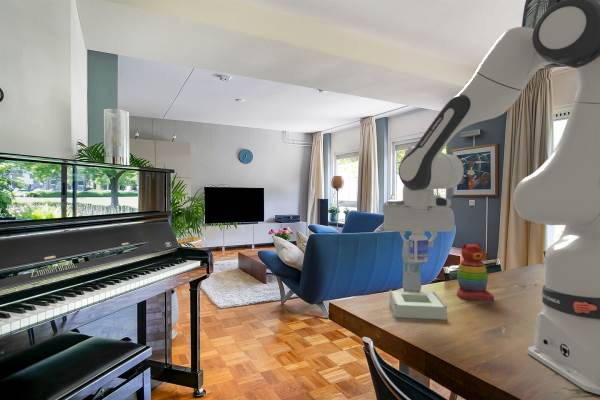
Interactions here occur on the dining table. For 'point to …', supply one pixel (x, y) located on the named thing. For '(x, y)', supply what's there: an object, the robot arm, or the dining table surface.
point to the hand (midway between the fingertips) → (418, 246)
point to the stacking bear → (472, 274)
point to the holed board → (417, 305)
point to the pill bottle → (418, 246)
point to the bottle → (410, 272)
